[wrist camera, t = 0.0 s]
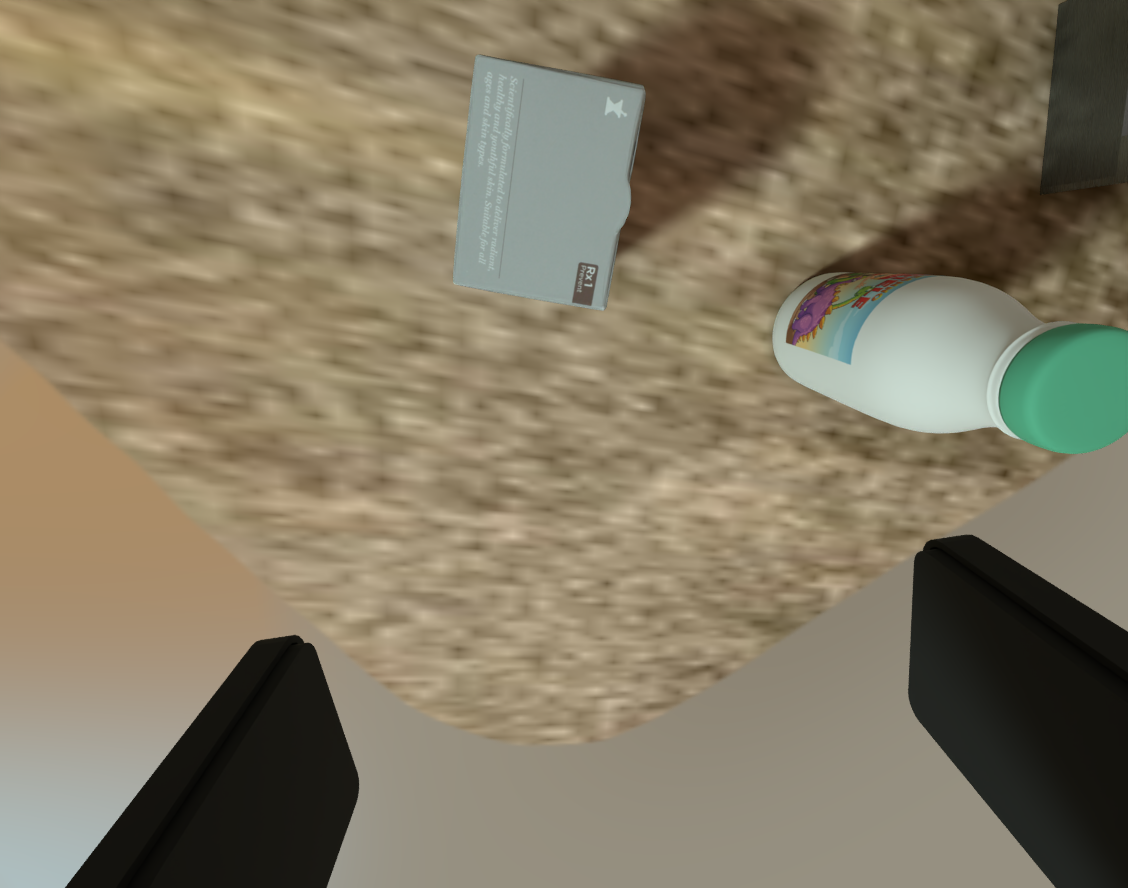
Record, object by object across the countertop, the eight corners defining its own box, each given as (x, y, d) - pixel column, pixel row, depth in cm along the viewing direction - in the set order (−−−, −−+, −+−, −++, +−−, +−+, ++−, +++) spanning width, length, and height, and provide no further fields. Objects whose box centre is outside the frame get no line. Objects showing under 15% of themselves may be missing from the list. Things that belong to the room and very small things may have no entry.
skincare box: (493, 133, 34) (452, 28, 19) (608, 154, 35) (656, 69, 20) (477, 276, 37) (430, 283, 22) (585, 294, 37) (612, 313, 22)
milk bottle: (892, 359, 39) (1220, 447, 20) (787, 403, 40) (1007, 529, 21) (864, 252, 37) (1202, 238, 18) (753, 301, 38) (965, 337, 19)
